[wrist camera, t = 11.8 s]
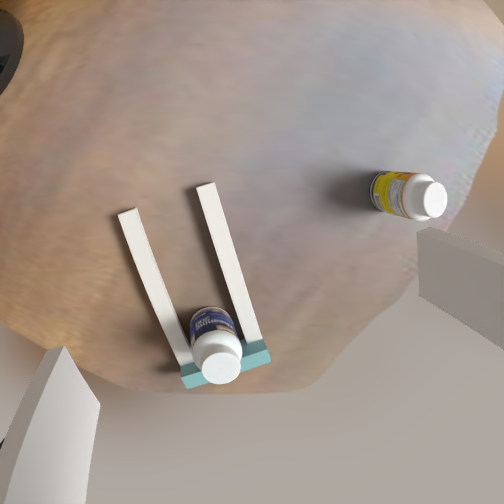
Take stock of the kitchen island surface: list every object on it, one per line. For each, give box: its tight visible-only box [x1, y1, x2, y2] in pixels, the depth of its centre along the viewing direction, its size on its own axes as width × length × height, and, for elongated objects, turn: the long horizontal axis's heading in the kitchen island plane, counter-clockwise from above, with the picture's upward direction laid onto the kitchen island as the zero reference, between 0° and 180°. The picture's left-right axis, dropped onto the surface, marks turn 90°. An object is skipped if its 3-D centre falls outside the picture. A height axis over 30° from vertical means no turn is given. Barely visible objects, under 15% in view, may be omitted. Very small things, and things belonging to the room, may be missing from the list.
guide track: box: [118, 182, 271, 389], centre depth 36 cm, size 22×11×4 cm, turn 16°
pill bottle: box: [190, 307, 242, 384], centre depth 35 cm, size 5×5×10 cm
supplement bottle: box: [370, 171, 447, 221], centre depth 35 cm, size 6×6×10 cm
